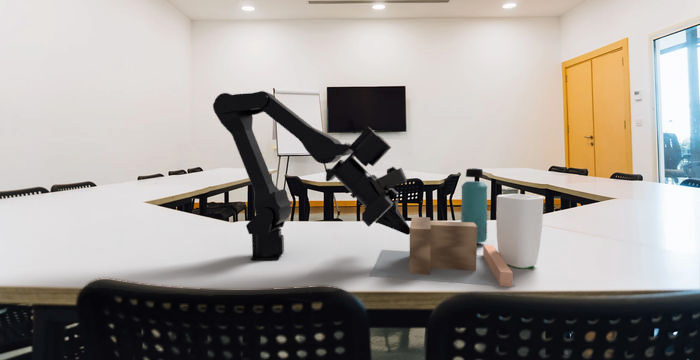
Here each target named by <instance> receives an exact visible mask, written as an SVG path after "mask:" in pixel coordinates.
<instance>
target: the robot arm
mask: <svg viewBox="0 0 700 360" xmlns="http://www.w3.org/2000/svg"><path fill="white" fill-rule="evenodd" d="M212 108H213V112H214V113H215V115H216V117H217V119H218V120H219V122H220V123H221V125H222V126H223V127H224V128H225V129H226V130H227V131H228V132H229V133H230V134H231V136H232V138H233V141H234V143H235V147H236V149H237V152H238V153H239V156H240V158H241V161H242V164H243V167H244V169H245V172H246V174H247V176H248V180H249V181H250V183H251V186H252V189H253V195H254V197H253V208H254V212H255V215H254V216H253V218H252V219H251V220H249V222H248V223H247V224H246V225H245V226H246V230H247V232H248V235H251V242H252V245H251V247H252V248H251V249H252V255H251V257H250V261H265V260H266V261H269V260H270V261H272V260H280V258H281V257H282V255H283V254H284V252H285V236H284V235H283V234H282V228H283V227H284V225H285V223H286V221H287V220H288V219H289V218H290V216H291V212H292V207H291V206H292V204H293V203H292V202H291V200H289V197H288V192H287V190H286V188H282V189H279V188H278V187H277V186H276V185H275V183H274V182H273V179H272V176H271V173H270V171H269V169H268V167H267V164H266V161H265V159H264V156H263V154H262V151H261V148H260V145H259V143H258V140H257V138H256V135H255V133H254V130H253V118H254V117H253V116H255V115H259V114H262V113H265V114H266V115H267V116H268V117H270V118H271V119H272V120H274V121H275V122H276V123H277V124H279V125H280V126H281V127H282V128H284V129H285V130H286V131H287V132H289V133H290V134H292V136H294V137H295V138H296V139H298V140H299V141H300V143H301V144H302V146H303V148H305V150H306V152H307V153H308V154H309V155H310V156H311V157H312V159H313V160H315V161H316V162H317V163H319V164H322V165H323V164H331V163H332V164H333V163H336V164H335V165H333V167H332V168H330V167H329V168H326V169H325V173H326V176H325V181H326V182H330V181H333V180H335V178H336V179H337V180H338V181H339V182H340V183H341V184H342V185H343V186H344V187H345V188H346V189H347V190H348V191H349V192H350V193H351V194H350V196H351V198H353V199H357V201H359V203H360V204H362V205H363V206H364V208H363V209H364V211H363V212H362V213H361V220H362V221H363V223H364V224H365V225H366V226H367V227H369V228H370V226H372V224H373V223H376V224H379V225H382V226H385V227H387V228H390V229H392V230H395V231H397V232H400V233H402V234H404V235H406V236H410V226H409V224H408V223H407V221H406V220H405V218H404V217H403V215H402V214H401V211H400V210H399V198H396V197H398V195H399V192H398V191H397V190H395V187H396V186H399V185H404V184H405V183H407V181H408V179H407V176H406V174H405V172H404V171H403V169H402V167H399V168H396V167H395V166H391V167H390V168H388V169H386V174H384V175H382V176H380V177H378V176H376V175H375V174H370V173H369V172H368V171H367V170H366V169H365V168H364V167H363V166H365V167H367V166H368V165H370V166H372V167H374V166H375V165H376V164H377V163H378V162H379V161H380V160H381V159H382V158H383V157H384V156H385V154H387V153H388V151H389V150H391V149H392V146H391V145H390V144H389V143H388V142H387V141H386V140H385V139H384V138H383V137H382V136H380V135H379V134H377V132H375V131H374V130H373V129H372V128H370V127H369V126H366V127H365V128H364V129H363V130H362V132H361V133H360V135H359V136H357V138H356V139H355V140H354V141H353V142H352V143H347V142H345V143H344V144H343V143H341V141H340V140H338V139H336V138H335V137H333V136H332V135H329V134H328V133H326V132H324V131H321V130H319V129H317V128H315V127H313V126H312V125H311V124H310V123H308V122H307V121H305V120H304V119H303V118H301V117H300V116H299V115H298V114H296V112H294V111H293V110H292V109H290V108H288V107H287V106H286V105H285V104H284V103H282V102H281V101H280V100H278V98H276V96H275V95H273V94H272V93H270V92H267V91H264V90H260V91H256V92H248V93H236V94H235V93H234V94H231V93H228V92H223V93H220V94H218V95H217V96H216V98H215V99H214V102H213V103H212ZM344 156H348V157H347V158H346V159H344V160H342V159H341V158H342V157H344ZM355 158H356V159H355ZM359 162H360V163H361V164H360V163H359ZM394 199H395V200H394ZM393 200H394V201H393Z"/></svg>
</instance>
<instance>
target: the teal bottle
mask: <svg viewBox="0 0 700 360" xmlns="http://www.w3.org/2000/svg"><path fill="white" fill-rule="evenodd" d="M465 177H466V178H483V177H484V174H483V168H473V167H472V168H467V169H466V171H465ZM460 208H461V209H460V215H461V216H460V220H461V221H460V222H472V223H475V224H476V226H477V244H478V243H485V242H486V241H487V239H488V219H489V218H488V215H489V213H488V186H487V184H486V183H485V182H484V181H476V180H475V181H469V180H468V181H467V180H466V181H465V182H464V183H463V184H462V185H461V207H460Z"/></svg>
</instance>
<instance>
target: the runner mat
mask: <svg viewBox="0 0 700 360" xmlns="http://www.w3.org/2000/svg"><path fill="white" fill-rule="evenodd" d="M482 246H483V252H482V254H483V255H482V254H481V255H480V254H477V256H476V271H471V270H455V269H440V268H430V275H427V274H412V273H410V250H393V249H392V250H390V249H381V250H380V252H379V255H378V257H377V259H376V262H375V264H374V266H373V268H372V270H371V273H370V274H369V277H373V278H387V279H388V278H389V279H390V278H391V279H402V280H414V281H415V280H416V281H417V280H418V281H428V282H430V281H431V282H440V283H441V282H443V283H445V282H446V283H455V284H456V283H458V284H469V285H470V284H471V285H481V286H482V285H484V286H485V285H486V286H498V287H510V288H511V287H514V288H515V287H516V285H515V284H514V282H513V271H512V270H511V268H510V266H509V265H507V264H506V263H505V261H504V260H503V259H502V257H501V256H500V255H499V253H498V249H496V248H495V246H494V245H492V244H483V245H482Z"/></svg>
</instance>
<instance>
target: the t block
mask: <svg viewBox="0 0 700 360" xmlns="http://www.w3.org/2000/svg"><path fill="white" fill-rule="evenodd" d="M409 228H410V234H409V251H410V273H412V274H427V275H430V268H440V269H455V270H471V271H476V256H477V255H478V254H477V251H478V250H477V248H478V247H477V246H478V243H477V226H476V224H475V223H472V222H461V221H444V220H443V221H442V220H441V221H440V220H439V221H438V220H431V217H429V216H428V217H427V216H426V217H424V216H412V217H411V221H410V226H409Z"/></svg>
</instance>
